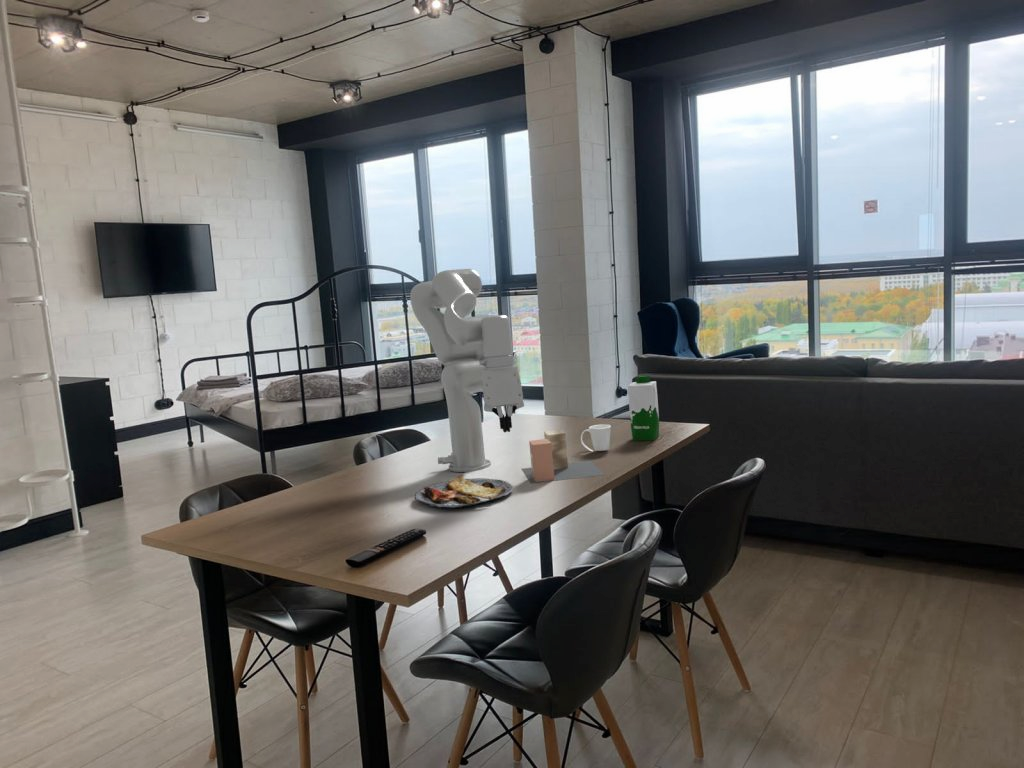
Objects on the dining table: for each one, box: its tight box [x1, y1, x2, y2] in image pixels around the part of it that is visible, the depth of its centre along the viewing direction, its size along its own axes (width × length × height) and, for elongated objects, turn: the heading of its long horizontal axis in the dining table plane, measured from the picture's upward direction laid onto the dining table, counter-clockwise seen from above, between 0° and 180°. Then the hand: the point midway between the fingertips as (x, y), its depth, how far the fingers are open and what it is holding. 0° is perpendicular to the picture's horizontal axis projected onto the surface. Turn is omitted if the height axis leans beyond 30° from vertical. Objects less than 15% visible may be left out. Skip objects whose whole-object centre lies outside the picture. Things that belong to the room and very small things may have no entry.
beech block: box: [543, 429, 569, 470], centre depth 218 cm, size 5×6×10 cm
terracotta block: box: [528, 438, 554, 482], centre depth 206 cm, size 5×6×10 cm
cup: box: [580, 424, 612, 452], centre depth 233 cm, size 7×10×8 cm
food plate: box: [414, 475, 514, 509], centre depth 196 cm, size 25×23×4 cm
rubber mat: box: [521, 460, 606, 485], centre depth 212 cm, size 20×18×1 cm
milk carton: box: [627, 374, 660, 441], centre depth 247 cm, size 9×9×20 cm
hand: (506, 431), depth 203 cm, fingers closed
